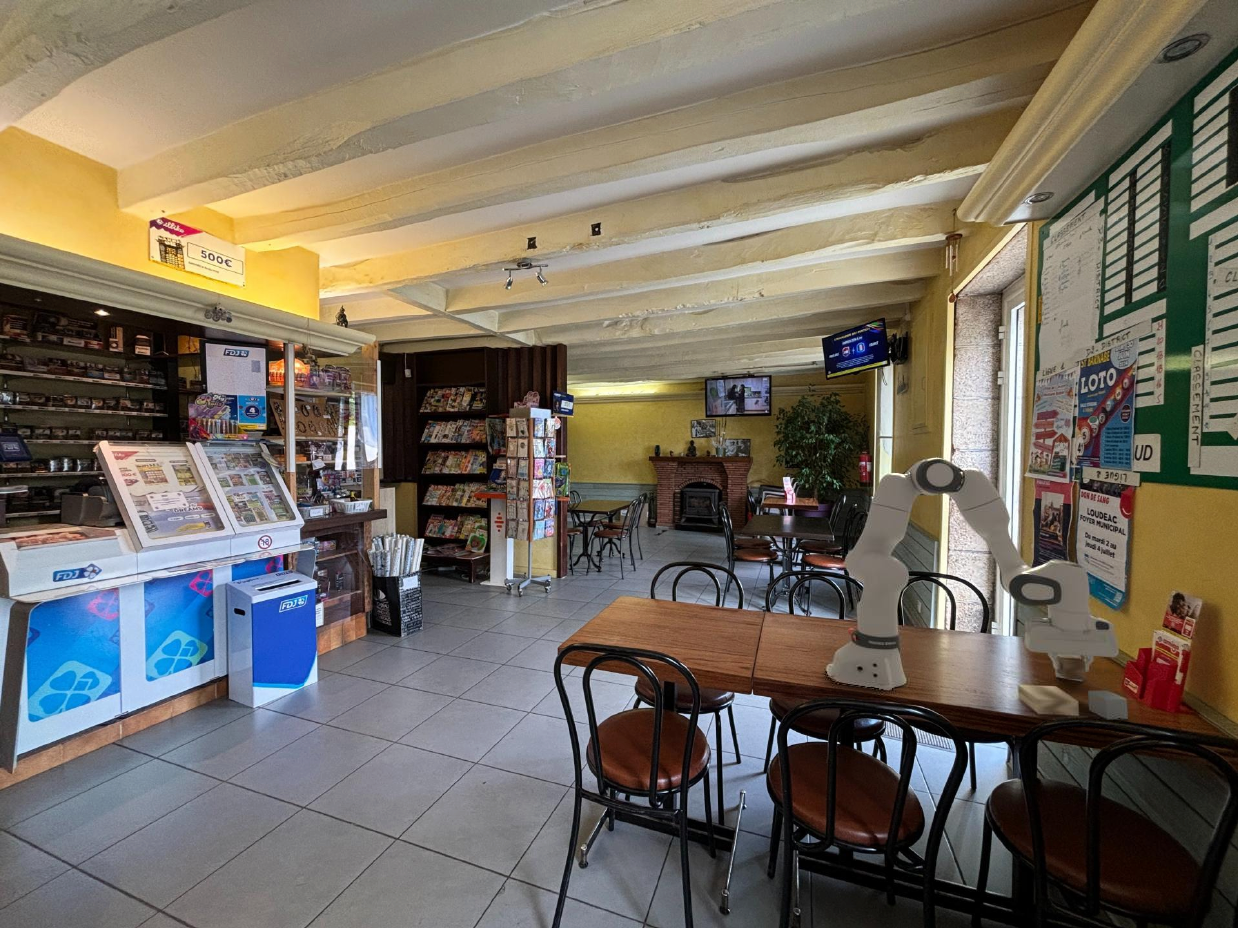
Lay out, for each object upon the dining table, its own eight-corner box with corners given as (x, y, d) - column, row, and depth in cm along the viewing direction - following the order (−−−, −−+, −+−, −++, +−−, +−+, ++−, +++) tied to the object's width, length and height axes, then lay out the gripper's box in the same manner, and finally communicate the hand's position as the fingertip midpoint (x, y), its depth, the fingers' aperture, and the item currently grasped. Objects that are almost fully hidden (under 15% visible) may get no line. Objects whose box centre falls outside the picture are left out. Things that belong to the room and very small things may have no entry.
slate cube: (1107, 719, 127) (1106, 699, 127) (1089, 710, 132) (1088, 690, 132) (1127, 719, 127) (1126, 698, 127) (1108, 709, 132) (1107, 690, 132)
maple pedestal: (1038, 714, 131) (1037, 699, 131) (1018, 699, 140) (1018, 684, 140) (1079, 716, 129) (1078, 701, 129) (1056, 701, 138) (1055, 686, 138)
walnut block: (1065, 678, 139) (1065, 660, 139) (1056, 672, 143) (1056, 654, 143) (1085, 679, 138) (1085, 661, 138) (1076, 673, 142) (1075, 655, 142)
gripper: (1029, 620, 141) (1031, 670, 140) (1121, 624, 135) (1123, 677, 135) (1019, 614, 147) (1020, 662, 146) (1106, 618, 141) (1108, 668, 141)
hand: (1070, 669), depth 140 cm, fingers closed on walnut block, 4 cm apart
